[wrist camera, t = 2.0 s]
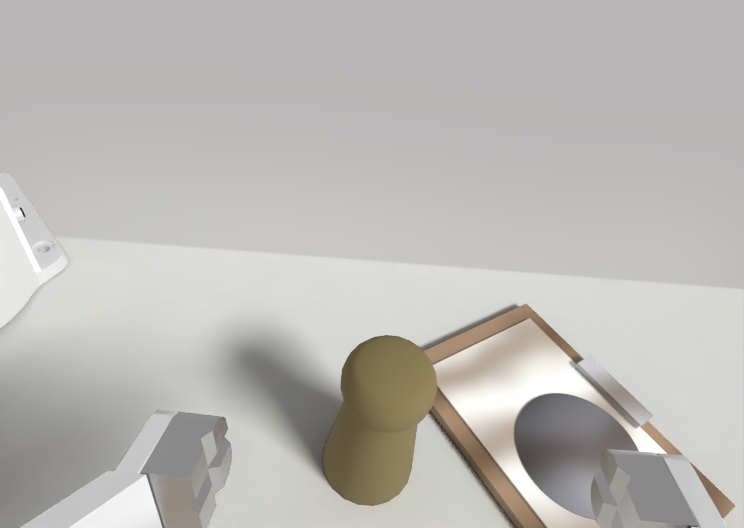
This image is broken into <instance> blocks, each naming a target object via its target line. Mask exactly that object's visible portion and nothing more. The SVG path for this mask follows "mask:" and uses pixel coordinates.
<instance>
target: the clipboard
mask: <svg viewBox="0 0 744 528" xmlns="http://www.w3.org/2000/svg"><path fill="white" fill-rule="evenodd" d="M424 353H425V354H426V355H427V356H428V357H429V359H430V360H431V362H432V365H433V367H434V369H435V371H436V380H437V393H436V396H435V400H434V403H433V405H432V408H431V409H430V411H431V412H432V413H433V415H434V416H435V418H436V419H437V420H438V422H439V423H440V424H441V426H442V427H443V428H444V430H445V431H446V433H447V434H448V435H449V437H450V438H451V439H452V441H453V442H454V443H455V445H456V446H457V447H458V449H459V450H460V452H461V453H462V454H463V456H464V457H465V458H466V460H467V461H468V462H469V464H470V465H471V466H472V468H473V469H474V471H475V472H476V473H477V475H478V476H479V477H480V479H481V480H482V481H483V483H484V484H485V485H486V487H487V488H488V490H489V491H490V492H491V494H492V495H493V496H494V498H495V499H496V500H497V502H498V503H499V504H500V506H501V507H502V509H503V510H504V511H505V513H506V514H507V515H508V517H509V518H510V519H511V521H512V522H513V523H514V525H515V526H516V528H601V527H600V526H599V525H598V524H597V523H596V521H595V517H594V514H593V511H592V505H591V484H592V481H593V478H594V475H596V474H597V473H599V472H600V471H602V467H601V465H600V462H599V460H600V458H601V455H602V453H603V452H604V451H605V450H606V449H612V450H626V451H639V452H653V453H662V454H674V455H682V454H681V453H680V452H679V451H678V450H677V449H676V448H675V447H674V446H673V445H672V444H671V443H670V442H669V441H668V440H667V439H666V438H665V437H664V436H663V435H662V434H661V433H660V432H659V431H658V430H657V429H655V428H654V427H653V426H652V425H651V424H650V423H649V422H648V420H649V419H650V418H651V417H652V416H653V415H652V414H651V413H650V412H649V411H648V410H647V409H646V408H645V407H644V406H643V405H642V404H641V403H640V402H638V401H637V400H636V399H635V398H634V397H633V396H632V395H631V394H630V393H629V392H628V391H627V390H626V389H625V388H624V387H623V386H622V385H621V384H620V383H619V382H617V381H616V380H615V379H614V378H613V377H612V376H611V375H610V374H609V373H608V372H607V371H606V370H605V369H604V368H603V367H602V366H601V365H600V364H599V363H598V362H596V361H595V360H594V359H593V358H592V357H591V356H589V357H587V358H586V359H583V358H582V357H581V356H580V355H579V354H578V353H577V352H576V351H575V350H574V349H573V348H572V347H571V346H570V345H569V344H568V343H567V342H566V341H565V340H563V339H562V338H561V337H560V336H559V335H558V334H557V333H556V332H555V331H554V330H553V329H552V328H551V327H550V326H549V325H548V324H547V323H546V322H545V321H544V320H543V319H542V318H541V317H540V316H539V315H538V314H537V313H536V312H535V311H534V310H532V309H531V308H530V307H529V306H528V305H527V304H524V305H522V306H520V307H518V308H516V309H513V310H511V311H509V312H507V313H505V314H503V315H500V316H498V317H496V318H494V319H492V320H490V321H487V322H485V323H483V324H481V325H479V326H477V327H475V328H472V329H470V330H468V331H466V332H464V333H462V334H459V335H457V336H455V337H453V338H451V339H449V340H446V341H444V342H442V343H440V344H438V345H436V346H433V347H431V348H429V349H427V350H425V351H424ZM689 462H690V461H689ZM690 463H691V462H690ZM691 465H692V467H693V469H694V470H695V472H696V474H697V475H698V477H699V479H700V481H701V482H702V484H703V486H704V488H705V489H706V491H707V493H708V495H709V496H710V498H711V500H712V501H713V503H714V505H715V507H716V508H717V510H718V512H719V514H720V515H721V517H722V519H723V518H724V517H725V516H726V515H727V514H728V513H729V512H730V511H731V510H732V509H733V508H734V507H735V505H734V504H733V503H732V502H731V501H730V500H729V499H728V498H727V497H726V496H725V495H724V494H723V493H722V492H721V491H720V490H719V489H718V488H716V487H715V486H714V485H713V484H712V483H711V482H710V481H709V480H708V479H707V478H706V477H705V476H704V475H703V474H702V473H701V472H700V471H699V470H698V469H697V468H696V467H695V466H694V465H693V464H692V463H691Z"/></svg>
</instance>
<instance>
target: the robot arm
mask: <svg viewBox="0 0 744 528" xmlns="http://www.w3.org/2000/svg"><path fill="white" fill-rule="evenodd" d="M67 264H68V257H67V255H66V254H65V252H64V250H63V249H62V247H61V246H60V244H59V243H58V241H57V240H56V239H55V237H54V236H53V234H52V233H51V231H50V230H49V228H48V227H47V225H46V224H45V223H44V221H43V220H42V218H41V217H40V215H39V214H38V212H37V211H36V210H35V208H34V207H33V205H32V204H31V203H30V201H29V200H28V198H27V197H26V195H25V194H24V192H23V191H22V189H21V188H20V186H19V185H18V183H17V182H16V181H15V179H14V178H13V177H12V176H11V175H10V174H7V173H1V172H0V328H1V327H2V326H4V325H5V324H6V323H7V322H8V321H10V320H11V319H12V318H13V317H14V316H15V315H16V314H17V313H18V312H19V311H20V310H21V309H22V308H23V307H24V305H25V304H26V303H27V301H28V300H29V299H30V297H31V296H32V295H33V293H34V292H35V291H36V290H37V288H38V287H39V286H40V285H41V284H43V283H44V282H46V281H47V280H49V279H50V278H52V277H53V276H55V275H56V274H57V273H59V272H60V271H61V270H62V269H64V268H65V267H66V265H67ZM227 429H228V427H227V423H226V418H224V417H220V416H211V415H202V414H193V413H184V412H173V411H163V410H157V411H156V412H154V413H153V414H152V415H151V416H150V417H149V419H148V420H147V422H146V423H145V425H144V426H143V428H142V429H141V431H140V433H139V434H138V436H137V437H136V439H135V440H134V442H133V443H132V445H131V446H130V448H129V449H128V451H127V452H126V454H125V455H124V457H123V458H122V460H121V461H120V463H119V465H118V466H117V468H116V469H115V471H106V472H105V473H103V474H102V475H100V476H99V477H97V478H95V479H94V480H92V481H91V482H89V483H88V484H86V485H85V486H83V487H82V488H80V489H78V490H77V491H75V492H74V493H72V494H71V495H69V496H68V497H66V498H65V499H63V500H61V501H60V502H58V503H57V504H55V505H54V506H52V507H51V508H49V509H48V510H46V511H44V512H43V513H41V514H40V515H38V516H37V517H35V518H34V519H32V520H31V521H29V522H27V523H26V524H24V525H23V526H21V527H20V528H207V526H208V524H209V522H210V519H211V517H212V514H213V512H214V509H215V507H216V502H215V497H214V494H215V493H217V492H218V491H219V490H220V489H222V488H223V487H224V485H225V482H226V480H227V477H228V475H229V470H230V465H231V458H232V450H231V444H230V442H229V441H228V440H227V439H226V438H225V437H224V436H225V434H226V432H227ZM599 462H600V465H601V467H602V471H600V472H599V473H597V474H596V475H594V478H593V481H592V484H591V505H592V511H593V514H594V517H595V521H596V523H597V524H598V525H599V526H600V527H601V528H728V527H727V526H726V524H725V522H724V521H723V519H722V517H721V515H720V514H719V512H718V510H717V508H716V507H715V505H714V503H713V501H712V500H711V498H710V496H709V495H708V493H707V491H706V489H705V488H704V486H703V484H702V482H701V481H700V479H699V477H698V475H697V474H696V472H695V470H694V469H693V467H692V465H691V463H690V462H689V460H688V459H687V458H686V457H685V456H683V455H674V454H662V453H653V452H639V451H626V450H612V449H606V450H605V451H604V452H603V453H602V455H601V458H600V460H599Z"/></svg>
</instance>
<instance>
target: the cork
mask: <svg viewBox="0 0 744 528" xmlns="http://www.w3.org/2000/svg"><path fill="white" fill-rule="evenodd" d="M340 388H341V391H342V395H343V399H344V402H343V405H342V407H341V409H340V412H339V414H338V416H337V418H336V421H335V423H334V425H333V427H332V430H331V432H330V434H329V436H328V439H327V441H326V443H325V446H324V448H323V457H322V464H323V468H324V473H325V476H326V478H327V480H328V481H329V483H330V485H331V486H332V488H333V489H334V490H335V491H336V492H337V493H338V494H340V495H341V496H342V497H343V498H344V499H346V500H349V501H351V502H353V503H356V504H358V505H370V506H374V505H378V504H382V503H386V502H388V501H390V500H391V499H393V498H394V497H395V496H397V495H398V494H400V492H401V491H402V489H403V488H404V487H405V485H406V484H407V482H408V479H409V476H410V472H411V468H412V461H413V453H414V446H415V438H416V431H417V424H418V423H419V422H420V421H422V420H423V418H424V417H425V416H426V415H427V413H428V412H429V411H430V409H431V408H432V405H433V403H434V400H435V396H436V393H437V380H436V371H435V369H434V367H433V365H432V362H431V360H430V359H429V357H428V356H427V355H426V354H425V353H424V351H423V350H422V349H421V348H420V347H419V346H417V345H416V344H414V343H413V342H411V341H409V340H406V339H404V338H401V337H398V336H388V335H385V336H379V337H374V338H371V339H369V340H367V341H365V342H363V343H361V344H359V345H358V346H357V347H356V348H355V349H354V350H353V351H352V352H351V353H350V355H349V356H348V358H347V360H346V362H345V364H344V366H343V368H342V375H341V387H340Z"/></svg>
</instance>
